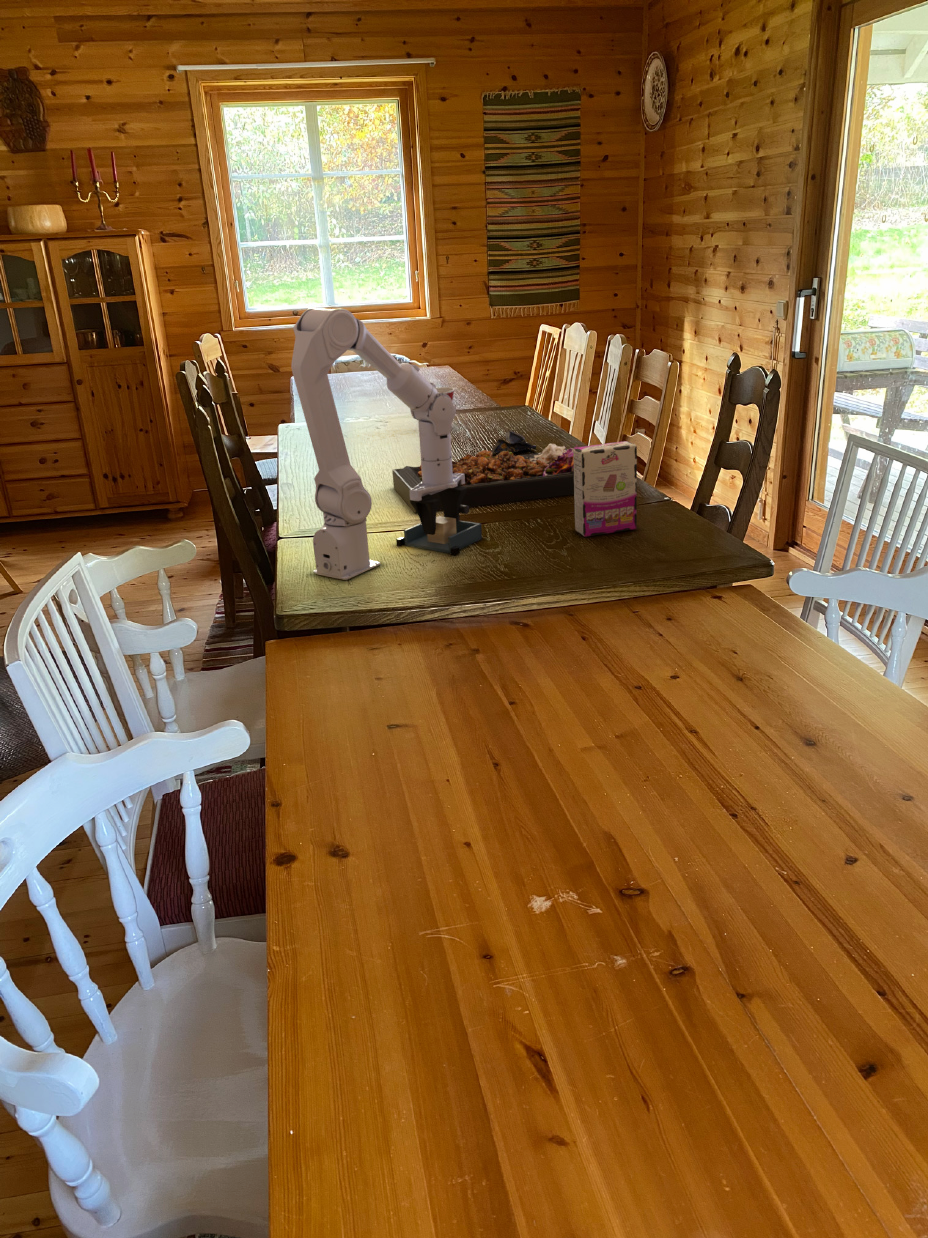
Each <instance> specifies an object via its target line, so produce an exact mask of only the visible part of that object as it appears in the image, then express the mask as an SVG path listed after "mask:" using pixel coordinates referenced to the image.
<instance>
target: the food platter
mask: <svg viewBox="0 0 928 1238" xmlns="http://www.w3.org/2000/svg"><path fill="white" fill-rule="evenodd" d="M577 447H578V444H576V445H575V447H573V448H577ZM573 448H572V447H571V448H568V449H567V448H566V447H565V445H563V446H558V445H556V443H549V444H548V445H547V446H546V447H545V448H543V450H542V452H537V453H528V454H519V455H514V452H508V451H502V452H501V453H497V455H495V456H493V455H492V452H491V450H486V449H483V450H481V451H479V452H477V453H475V456H473V455H472V454H469V453H467V454H466V455H465V456H462V457H461V458H460V459H459V460H457V461H454V460H452V471H453V474H454V473H462V474H464V475H465V484H462V485H460V486H462V487H466V493H465V495H464V497H463V499H462V502H461V505H466V506H468V507H469V508H476V507H481V506H490V505H491V506H492V505H498V504H506V503H514V502H524V501H531V500H539V499H547V498H554V497H555V498H556V497H564V496H565V497H566V496H571V495H572V496H573V495H574V456H573ZM391 472H392V486H393V489H394V491H396V493H397V494H398V496H400V497H401V498H402V500H403V501H404V502H405V503H406V504H407V506H409V508H410V509H411V511H413V513H414V514H417V512H416V510H415V509H414V507H413V506H412V504H411V503H410V489H413V488H414V487H416V486H417V485H418V484H420V483H421V482H422V469H421V464H420V465H419V466H411V465H410V466H409V465H405V466H404V467H402V468H393V469H392V470H391ZM431 497H432V499H437V500H440V502H439V504H438V508H437V512H442V511H443V505H442V501H441V498H440V495H439V492H437V493H435V494H432V495H431ZM417 515H418V514H417Z"/></svg>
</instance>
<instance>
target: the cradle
mask: <svg viewBox="0 0 928 1238" xmlns="http://www.w3.org/2000/svg"><path fill="white" fill-rule="evenodd" d="M395 540H396V541H395V542H396V547H403V546H405V539H404V536H400V537H398V538H396V539H395ZM450 549H451V553H450V556H453V557H456V556H458V555H460V554H461V549H460V547H459V546H454V547H452V548H450Z"/></svg>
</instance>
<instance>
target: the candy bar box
mask: <svg viewBox="0 0 928 1238" xmlns="http://www.w3.org/2000/svg"><path fill="white" fill-rule="evenodd" d="M573 456H574V494H573V495H574V496H573V498H574V530H575V532H576V533H578V534H580V536H583V537H584V538H585V537H586V538H587V537H593V536H600V535H601V536H602V535H606V534H614V533H620V532H626V531H633V530H637V527H638V526H637V523H638V521H637V520H638V519H637V517H638V515H637V511H638V510H637V508H638V506H637V502H638V501H637V500H638V497H637V495H638V494H637V493H638V491H637V490H638V487H637V486H638V484H637V483H638V445H637V444H635V443H632V442H630V441H628V440H626V441H625V440H624V441H616V442H608V443H602V444H593V445H585V446H577V447H576V448H575V447H573Z"/></svg>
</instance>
